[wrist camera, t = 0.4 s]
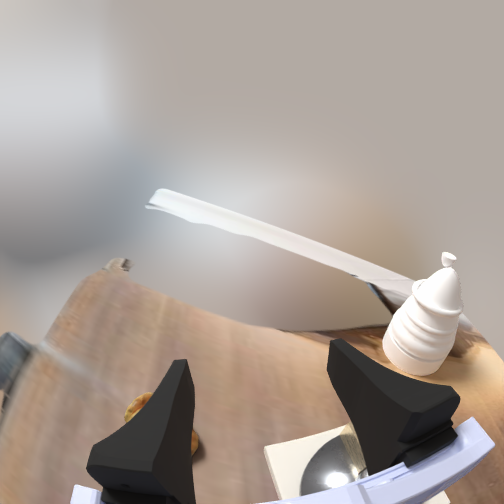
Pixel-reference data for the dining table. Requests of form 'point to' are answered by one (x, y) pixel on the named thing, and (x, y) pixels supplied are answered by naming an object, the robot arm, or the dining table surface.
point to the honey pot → (426, 323)
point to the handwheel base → (305, 463)
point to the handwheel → (334, 464)
